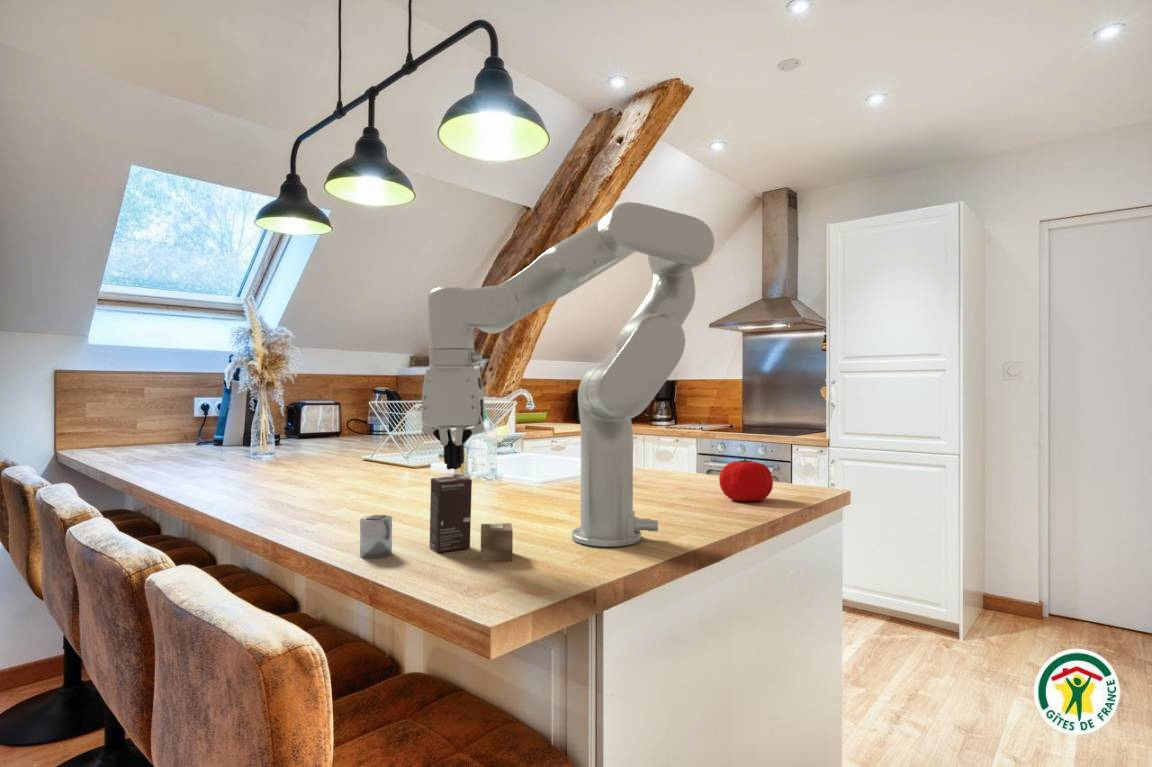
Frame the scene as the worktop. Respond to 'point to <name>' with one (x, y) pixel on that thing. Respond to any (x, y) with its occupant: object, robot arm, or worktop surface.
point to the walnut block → (496, 542)
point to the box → (450, 513)
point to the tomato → (746, 481)
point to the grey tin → (375, 536)
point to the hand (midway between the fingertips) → (454, 468)
